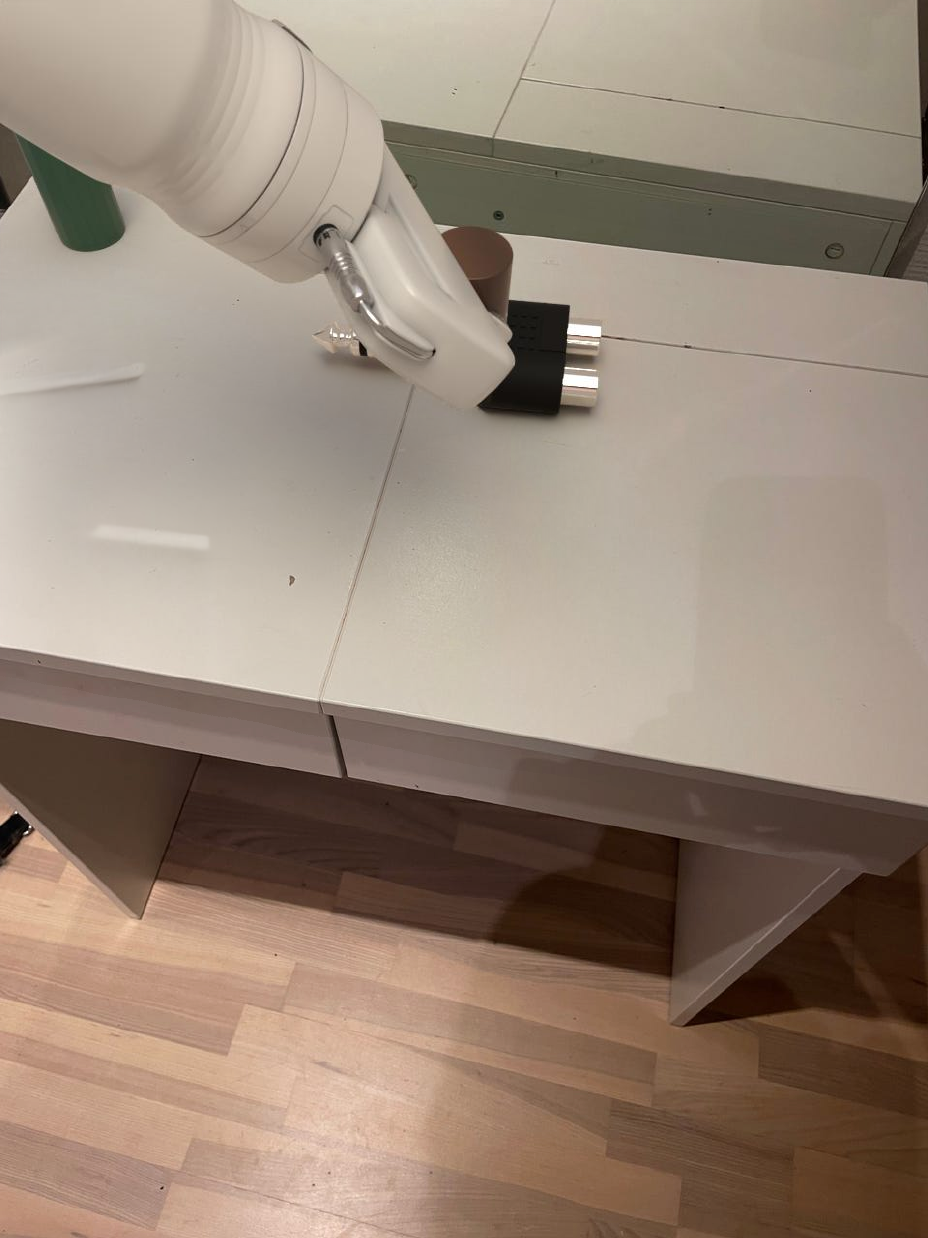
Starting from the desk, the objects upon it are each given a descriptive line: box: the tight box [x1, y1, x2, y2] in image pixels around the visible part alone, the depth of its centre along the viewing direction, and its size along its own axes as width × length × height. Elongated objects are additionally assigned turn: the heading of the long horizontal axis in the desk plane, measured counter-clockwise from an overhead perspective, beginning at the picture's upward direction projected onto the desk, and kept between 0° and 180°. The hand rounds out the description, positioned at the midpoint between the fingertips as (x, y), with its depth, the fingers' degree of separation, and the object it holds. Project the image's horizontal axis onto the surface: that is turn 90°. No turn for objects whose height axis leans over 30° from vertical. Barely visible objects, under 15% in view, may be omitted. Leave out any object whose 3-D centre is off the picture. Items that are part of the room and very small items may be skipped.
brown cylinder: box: [441, 225, 514, 322], centre depth 49 cm, size 4×4×8 cm
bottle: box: [12, 131, 126, 252], centre depth 81 cm, size 6×6×15 cm
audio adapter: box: [312, 299, 603, 415], centre depth 76 cm, size 11×5×25 cm
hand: (478, 303), depth 49 cm, fingers closed on brown cylinder, 4 cm apart
